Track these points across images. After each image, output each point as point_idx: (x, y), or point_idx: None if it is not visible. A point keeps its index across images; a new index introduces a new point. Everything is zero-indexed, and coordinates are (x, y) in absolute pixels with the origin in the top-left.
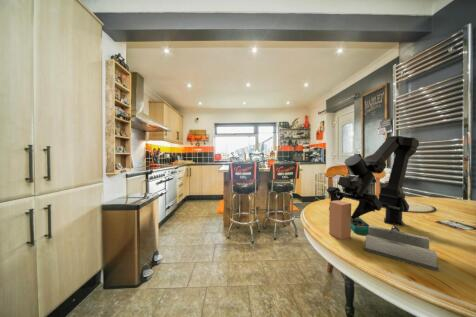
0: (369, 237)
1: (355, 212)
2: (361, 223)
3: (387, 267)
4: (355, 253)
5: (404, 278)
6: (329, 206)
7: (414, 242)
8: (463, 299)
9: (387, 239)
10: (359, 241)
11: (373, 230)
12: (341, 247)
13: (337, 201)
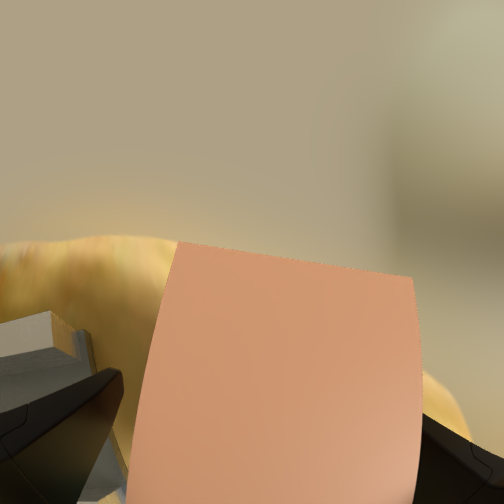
0: (39, 317)
1: (69, 393)
2: None
3: (25, 274)
4: (106, 280)
5: (3, 254)
6: (425, 415)
7: None
8: None
9: None
10: None
11: (81, 498)
12: (163, 281)
13: (370, 403)
